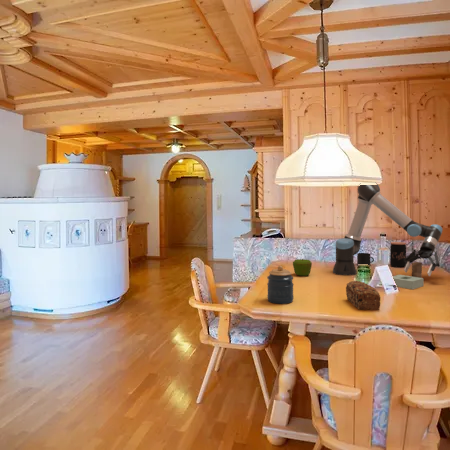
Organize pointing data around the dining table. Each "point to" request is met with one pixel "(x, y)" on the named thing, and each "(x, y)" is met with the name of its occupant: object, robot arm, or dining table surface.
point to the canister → (280, 286)
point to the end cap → (408, 281)
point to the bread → (362, 295)
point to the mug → (364, 258)
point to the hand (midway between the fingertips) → (416, 272)
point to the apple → (302, 267)
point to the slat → (417, 269)
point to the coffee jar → (397, 254)
